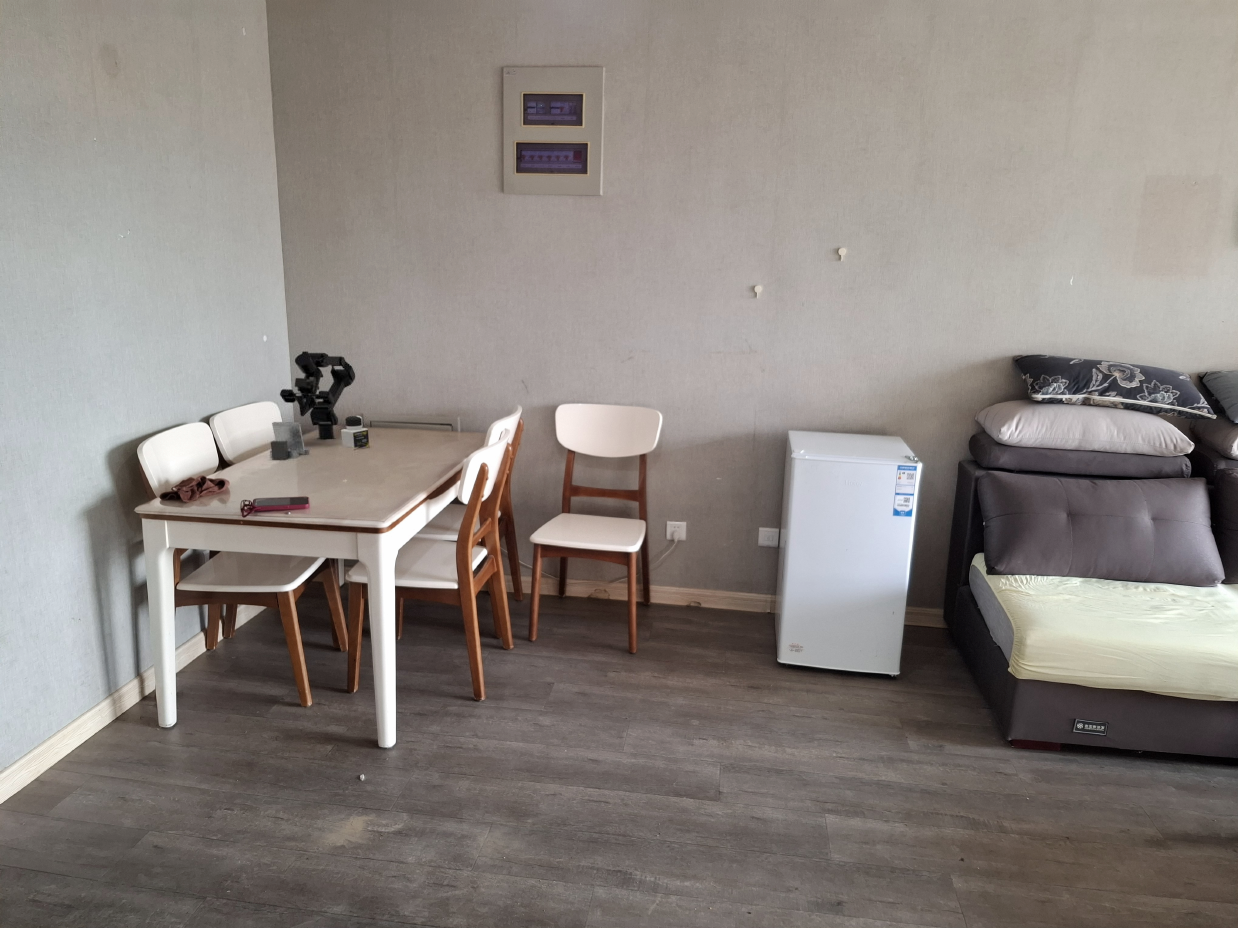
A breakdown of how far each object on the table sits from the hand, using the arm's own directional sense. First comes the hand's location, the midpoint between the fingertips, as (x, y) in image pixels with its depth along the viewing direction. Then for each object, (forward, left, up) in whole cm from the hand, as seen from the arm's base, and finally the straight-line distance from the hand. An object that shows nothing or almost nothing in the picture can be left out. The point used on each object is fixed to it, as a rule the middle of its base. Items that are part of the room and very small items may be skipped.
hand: (301, 415), depth 309 cm
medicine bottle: (+4, +18, -13) cm, 23 cm away
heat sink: (+12, -8, -12) cm, 19 cm away
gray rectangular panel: (+10, -6, -6) cm, 13 cm away
